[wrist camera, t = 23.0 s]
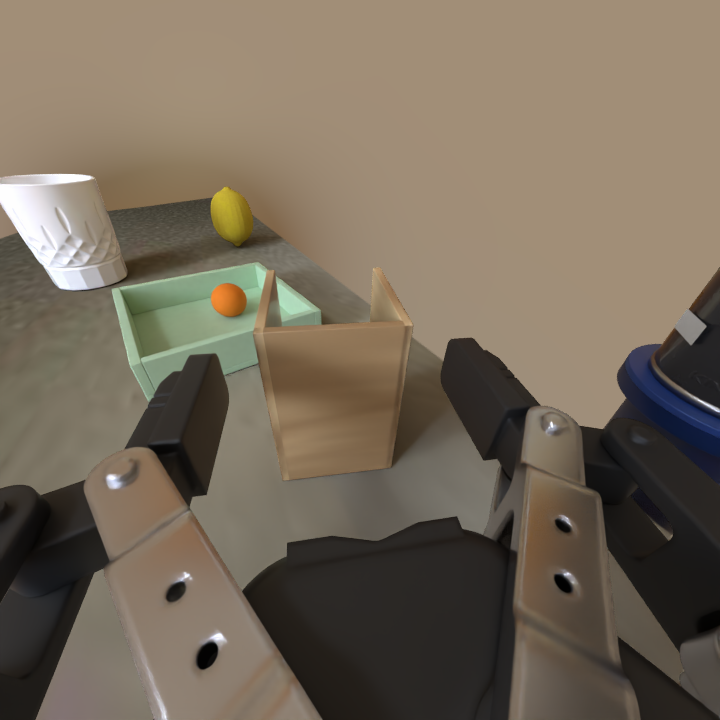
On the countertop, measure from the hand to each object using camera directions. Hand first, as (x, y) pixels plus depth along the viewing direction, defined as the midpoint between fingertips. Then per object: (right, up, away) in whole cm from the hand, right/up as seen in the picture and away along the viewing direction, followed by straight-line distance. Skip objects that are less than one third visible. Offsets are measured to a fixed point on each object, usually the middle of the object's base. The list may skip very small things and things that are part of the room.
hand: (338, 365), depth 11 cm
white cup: (-30, +9, +25) cm, 40 cm away
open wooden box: (-1, -4, +8) cm, 9 cm away
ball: (-11, +6, +17) cm, 21 cm away
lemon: (-18, +17, +36) cm, 44 cm away
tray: (-12, +3, +17) cm, 21 cm away
